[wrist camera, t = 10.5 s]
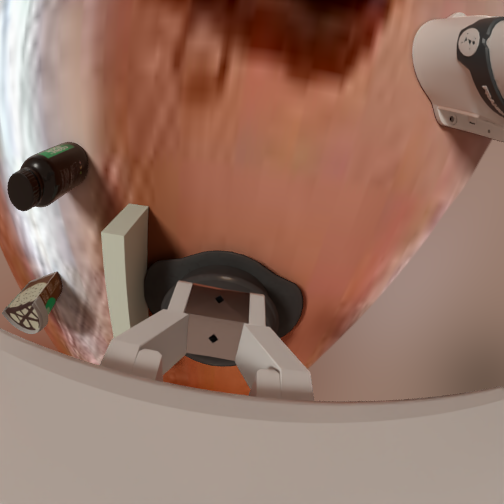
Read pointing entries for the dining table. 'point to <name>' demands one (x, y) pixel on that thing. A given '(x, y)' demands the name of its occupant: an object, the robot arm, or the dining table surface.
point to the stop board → (126, 267)
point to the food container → (34, 303)
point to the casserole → (225, 277)
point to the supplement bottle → (48, 176)
